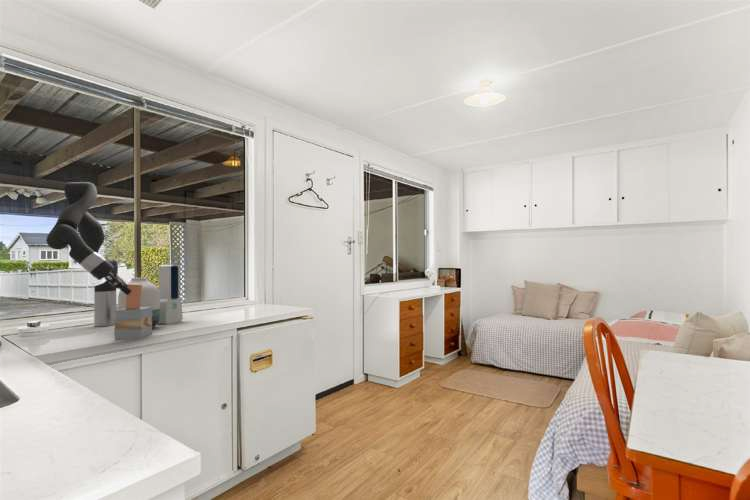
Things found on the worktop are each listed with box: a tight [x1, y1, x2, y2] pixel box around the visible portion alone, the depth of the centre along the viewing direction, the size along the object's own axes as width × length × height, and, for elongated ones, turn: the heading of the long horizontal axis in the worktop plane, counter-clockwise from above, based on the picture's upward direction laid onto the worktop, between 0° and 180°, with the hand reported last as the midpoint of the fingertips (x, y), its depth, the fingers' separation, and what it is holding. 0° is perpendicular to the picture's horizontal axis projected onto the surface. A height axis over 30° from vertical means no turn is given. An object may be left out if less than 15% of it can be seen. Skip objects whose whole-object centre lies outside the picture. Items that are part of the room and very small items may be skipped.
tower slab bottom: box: [114, 326, 153, 340], centre depth 162 cm, size 10×10×4 cm
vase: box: [117, 277, 160, 328], centre depth 183 cm, size 17×17×24 cm
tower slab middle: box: [114, 316, 152, 331], centre depth 163 cm, size 10×10×4 cm
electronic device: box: [157, 264, 184, 325], centre depth 200 cm, size 12×8×30 cm, turn 168°
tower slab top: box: [115, 307, 152, 320], centre depth 163 cm, size 10×10×4 cm
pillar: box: [126, 283, 142, 309], centre depth 163 cm, size 5×5×10 cm
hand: (130, 292), depth 162 cm, fingers open, 8 cm apart
